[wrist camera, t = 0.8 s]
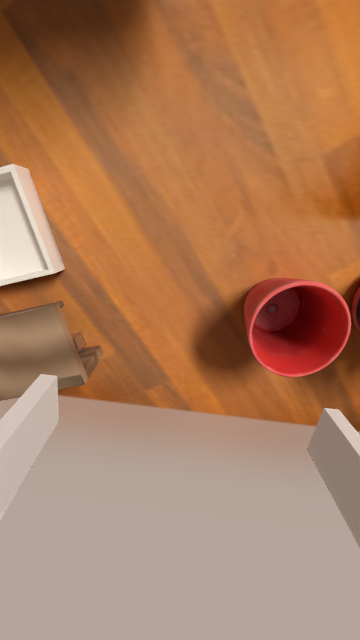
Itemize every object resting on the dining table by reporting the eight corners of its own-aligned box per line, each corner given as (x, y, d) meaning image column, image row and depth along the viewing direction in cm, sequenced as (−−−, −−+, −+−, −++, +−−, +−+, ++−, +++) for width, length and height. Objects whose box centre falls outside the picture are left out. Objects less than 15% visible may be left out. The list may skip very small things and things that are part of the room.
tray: (-49, 189, 32) (-72, 186, 29) (28, 168, 32) (13, 163, 29) (-5, 285, 36) (-20, 290, 33) (65, 269, 36) (55, 273, 33)
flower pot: (230, 342, 39) (245, 378, 30) (235, 266, 35) (253, 281, 26) (303, 341, 39) (340, 378, 30) (315, 265, 35) (362, 281, 26)
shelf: (-2, 307, 37) (-48, 328, 30) (80, 289, 36) (53, 306, 29) (27, 368, 41) (-7, 402, 33) (103, 353, 40) (84, 384, 32)
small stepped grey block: (29, 342, 39) (19, 350, 37) (81, 331, 39) (74, 339, 36) (34, 354, 40) (25, 363, 38) (85, 344, 39) (79, 352, 37)
